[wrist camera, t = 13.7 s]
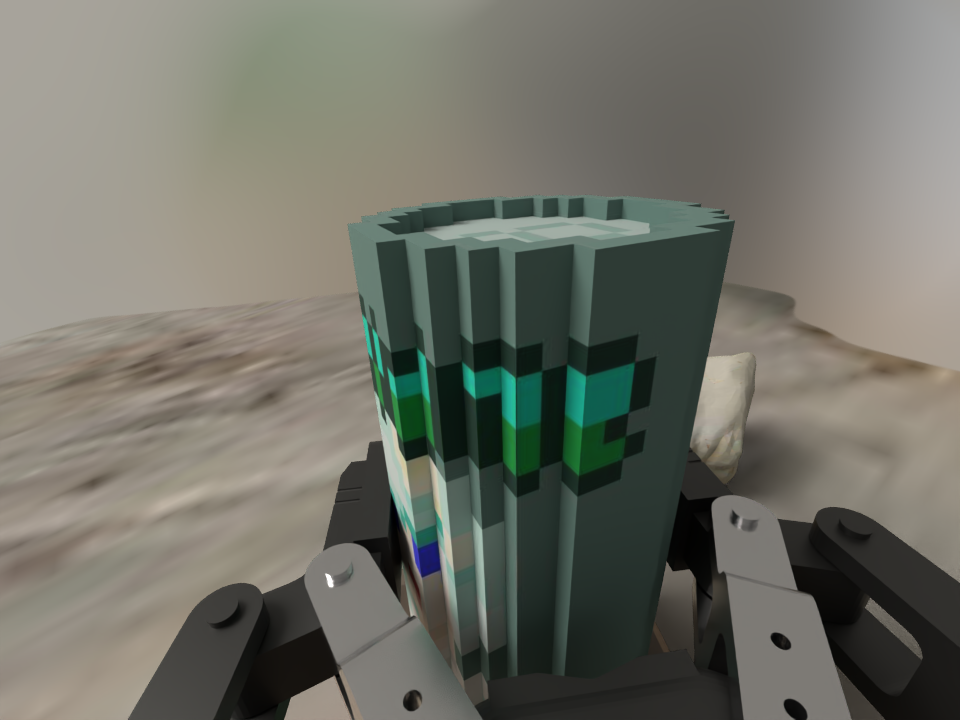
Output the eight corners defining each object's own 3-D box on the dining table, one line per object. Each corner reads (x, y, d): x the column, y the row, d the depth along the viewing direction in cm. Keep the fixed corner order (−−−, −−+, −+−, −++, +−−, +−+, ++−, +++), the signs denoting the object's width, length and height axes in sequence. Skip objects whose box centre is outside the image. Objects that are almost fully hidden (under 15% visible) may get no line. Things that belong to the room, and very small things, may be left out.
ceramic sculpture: (850, 372, 18) (477, 426, 17) (803, 531, 21) (496, 582, 21) (701, 294, 27) (458, 327, 26) (687, 413, 31) (474, 445, 30)
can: (407, 655, 16) (329, 212, 9) (552, 585, 18) (570, 190, 12) (482, 886, 11) (426, 275, 4) (668, 749, 13) (816, 215, 7)
